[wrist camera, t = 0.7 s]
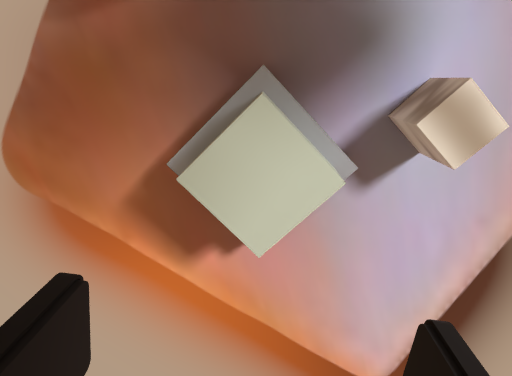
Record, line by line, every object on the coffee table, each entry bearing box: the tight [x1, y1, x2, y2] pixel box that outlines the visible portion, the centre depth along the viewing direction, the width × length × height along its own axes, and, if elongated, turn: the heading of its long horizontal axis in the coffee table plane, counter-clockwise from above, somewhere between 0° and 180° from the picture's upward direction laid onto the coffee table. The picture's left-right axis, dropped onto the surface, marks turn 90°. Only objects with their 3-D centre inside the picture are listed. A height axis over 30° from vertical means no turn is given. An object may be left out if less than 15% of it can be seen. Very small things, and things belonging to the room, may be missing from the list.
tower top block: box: [176, 92, 346, 257], centre depth 29 cm, size 9×9×5 cm
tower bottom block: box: [167, 65, 358, 180], centre depth 34 cm, size 12×12×5 cm
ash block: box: [388, 78, 509, 170], centre depth 31 cm, size 5×5×7 cm
